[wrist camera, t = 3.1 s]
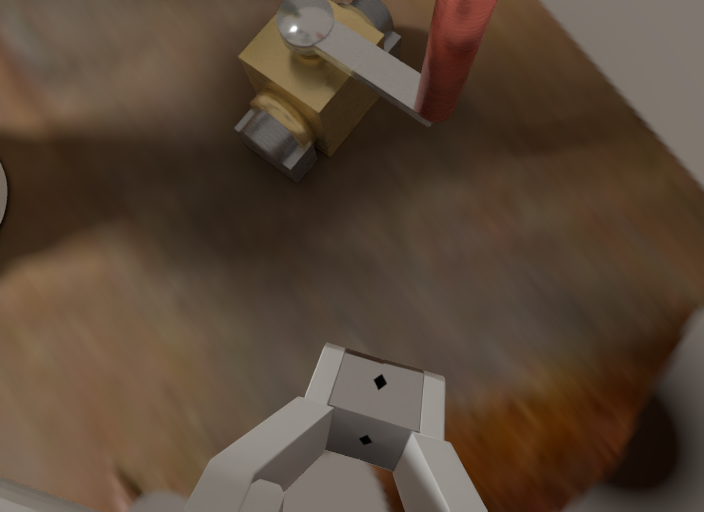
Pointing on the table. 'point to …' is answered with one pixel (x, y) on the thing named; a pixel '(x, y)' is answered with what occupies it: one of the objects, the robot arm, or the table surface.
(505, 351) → the table surface
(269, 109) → the valve body
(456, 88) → the lever
